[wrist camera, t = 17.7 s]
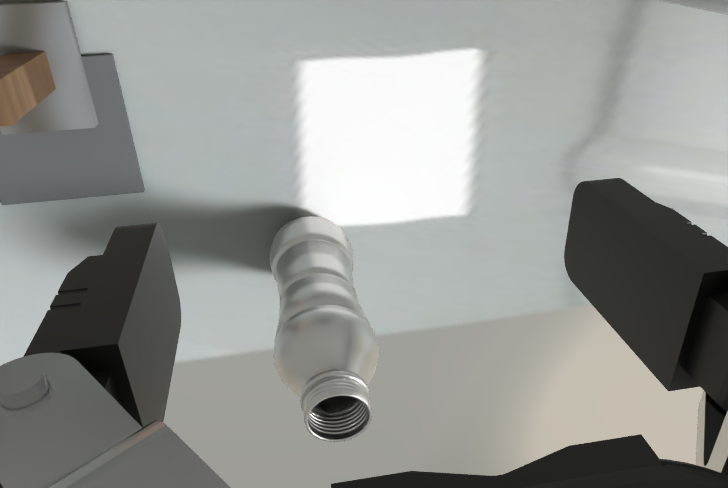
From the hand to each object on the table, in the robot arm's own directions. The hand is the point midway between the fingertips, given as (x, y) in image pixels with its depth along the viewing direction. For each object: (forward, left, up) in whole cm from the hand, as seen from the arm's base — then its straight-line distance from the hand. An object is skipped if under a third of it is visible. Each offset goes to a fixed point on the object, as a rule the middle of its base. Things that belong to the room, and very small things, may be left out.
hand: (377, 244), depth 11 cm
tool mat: (+17, +7, -33) cm, 38 cm away
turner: (+17, +2, -33) cm, 37 cm away
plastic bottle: (0, +18, -33) cm, 38 cm away
